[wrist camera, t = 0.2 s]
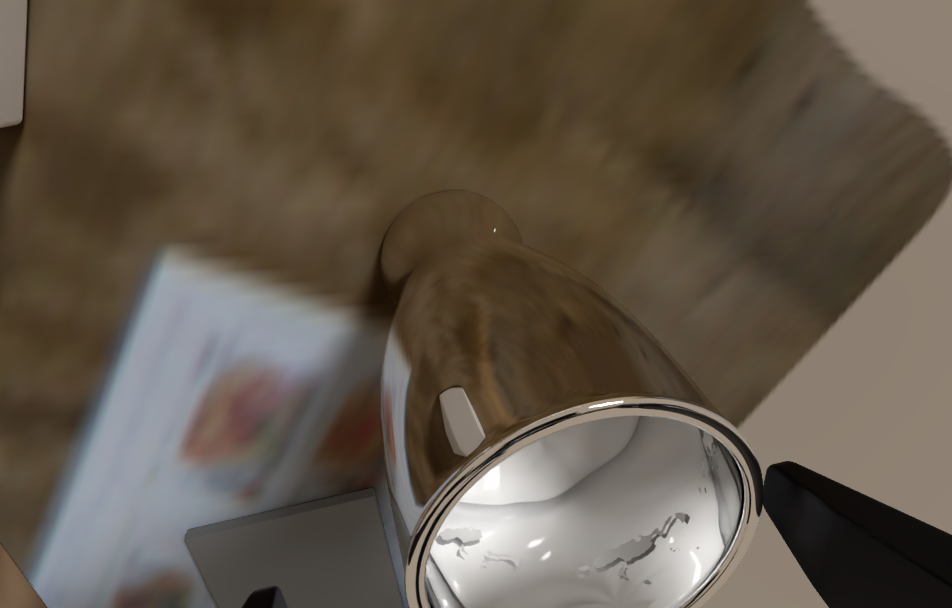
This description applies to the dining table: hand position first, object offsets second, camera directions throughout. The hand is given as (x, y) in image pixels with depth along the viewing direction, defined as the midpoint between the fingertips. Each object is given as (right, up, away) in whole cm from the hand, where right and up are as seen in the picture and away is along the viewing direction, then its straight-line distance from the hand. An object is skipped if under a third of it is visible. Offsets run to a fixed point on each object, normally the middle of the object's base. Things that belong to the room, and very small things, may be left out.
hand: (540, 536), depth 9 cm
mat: (-10, -10, +19) cm, 24 cm away
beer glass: (-2, +6, +13) cm, 15 cm away
